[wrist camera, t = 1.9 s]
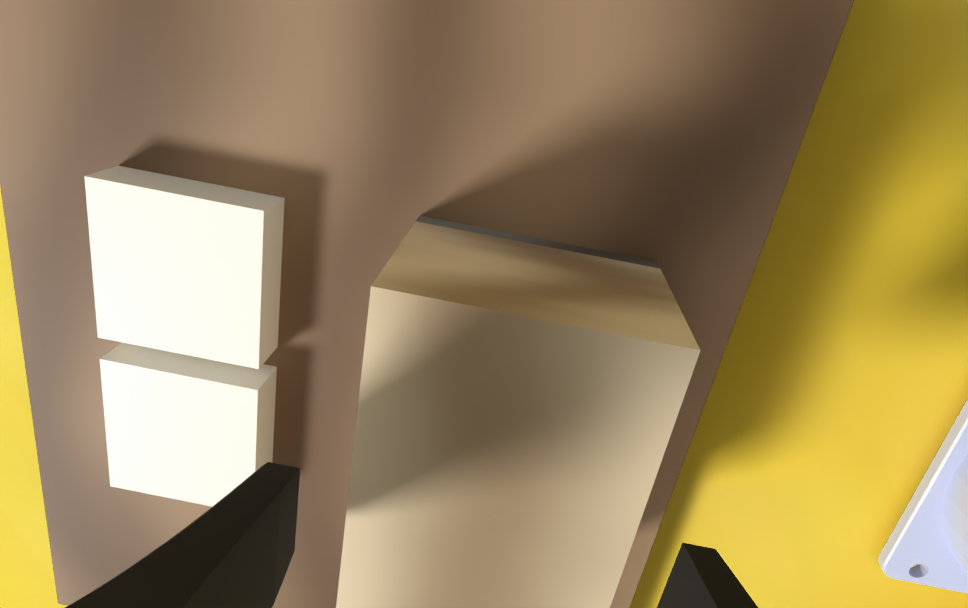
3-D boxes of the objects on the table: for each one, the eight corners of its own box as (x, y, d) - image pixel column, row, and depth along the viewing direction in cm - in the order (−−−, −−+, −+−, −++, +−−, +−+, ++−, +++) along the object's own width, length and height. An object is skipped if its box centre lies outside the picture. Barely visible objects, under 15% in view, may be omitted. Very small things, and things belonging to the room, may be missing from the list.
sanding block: (656, 261, 15) (700, 350, 11) (569, 551, 18) (576, 702, 14) (419, 215, 15) (371, 286, 11) (379, 512, 18) (330, 651, 14)
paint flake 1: (284, 197, 15) (263, 210, 14) (277, 347, 16) (258, 369, 15) (118, 165, 15) (84, 176, 14) (127, 317, 17) (97, 337, 15)
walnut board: (833, -28, 13) (866, -35, 12) (588, 669, 22) (590, 711, 21) (6, -182, 14) (-54, -206, 12) (87, 568, 22) (58, 603, 21)
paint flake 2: (276, 366, 17) (258, 390, 16) (271, 486, 18) (253, 514, 17) (128, 337, 17) (99, 358, 16) (135, 459, 18) (110, 486, 17)
